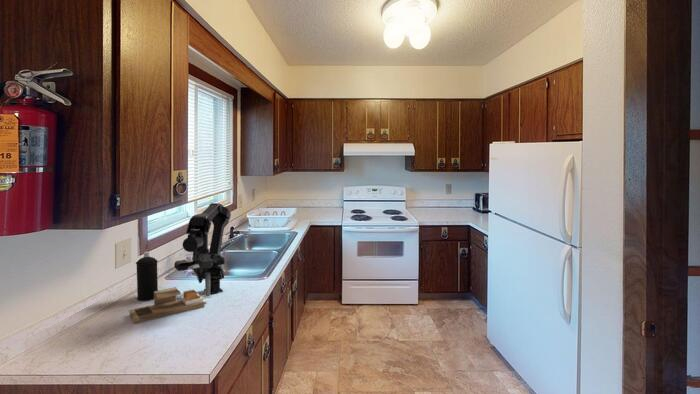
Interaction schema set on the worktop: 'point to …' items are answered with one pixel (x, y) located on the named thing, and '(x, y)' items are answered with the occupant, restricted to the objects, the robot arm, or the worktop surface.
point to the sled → (200, 298)
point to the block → (190, 295)
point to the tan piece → (163, 306)
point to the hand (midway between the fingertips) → (200, 282)
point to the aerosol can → (146, 277)
